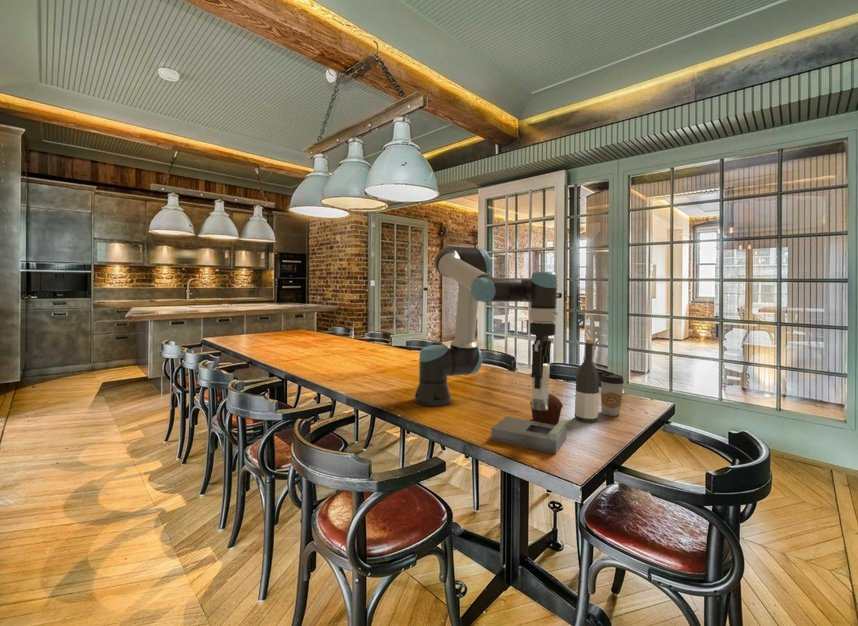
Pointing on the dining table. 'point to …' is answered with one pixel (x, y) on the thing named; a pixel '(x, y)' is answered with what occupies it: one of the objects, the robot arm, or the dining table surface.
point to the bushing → (543, 403)
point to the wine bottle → (587, 388)
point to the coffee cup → (611, 393)
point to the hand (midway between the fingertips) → (540, 396)
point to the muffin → (548, 412)
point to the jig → (530, 434)
